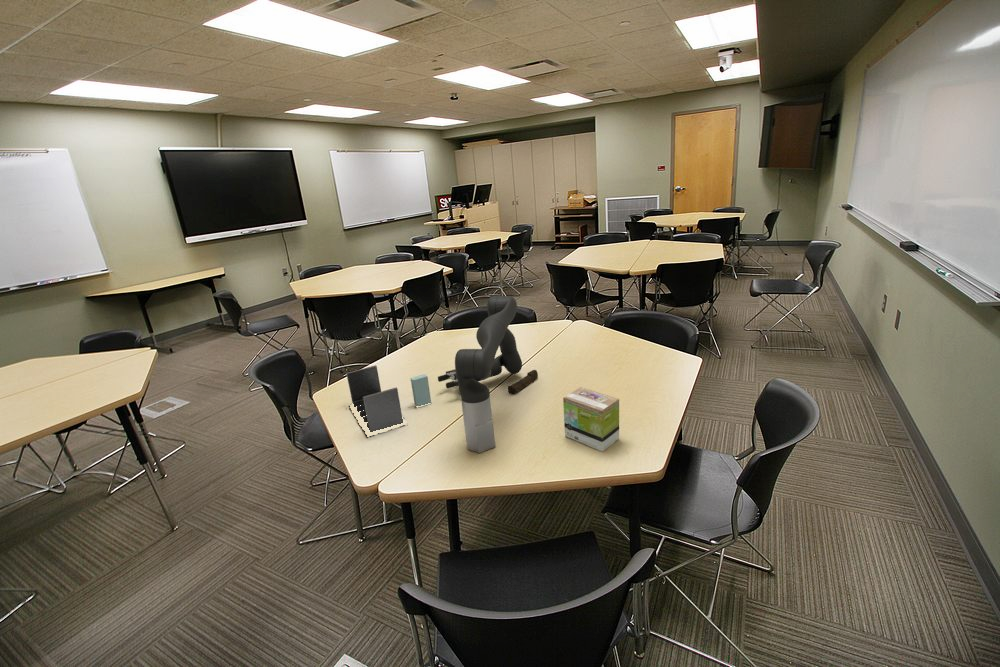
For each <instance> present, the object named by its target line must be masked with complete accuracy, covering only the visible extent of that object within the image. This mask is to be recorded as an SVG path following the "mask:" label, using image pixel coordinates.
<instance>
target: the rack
mask: <svg viewBox="0 0 1000 667" xmlns="http://www.w3.org/2000/svg"><path fill="white" fill-rule="evenodd" d="M345 374H346V378H347V383H348V389H349V392H350V393H349V394H350V398H351V402H352V403H353V404H354V407H356V406H357V411H358V412H359V411H361V412H360V416H361V417H363V416H365V417H363V419H364V422H368V423H367V427H368V428H369V430H370V432H373V431H376V430H380V429H384V428H387V427H391V426H393V425H397V424H401V423H403V419H402V416H403V413H402V407H401V402H400V396H399V391H398V387H393V388H390V389H385V390H382V389H381V383H380V378H379V372H378V366H377V364H376V365H372V366H367V367H364V368H361V369H356V370H353V371H352V370H351V371H349V372H345ZM352 403H351V404H352ZM360 405H361V406H360ZM363 410H364V411H363ZM366 415H367V416H366Z"/></svg>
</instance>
